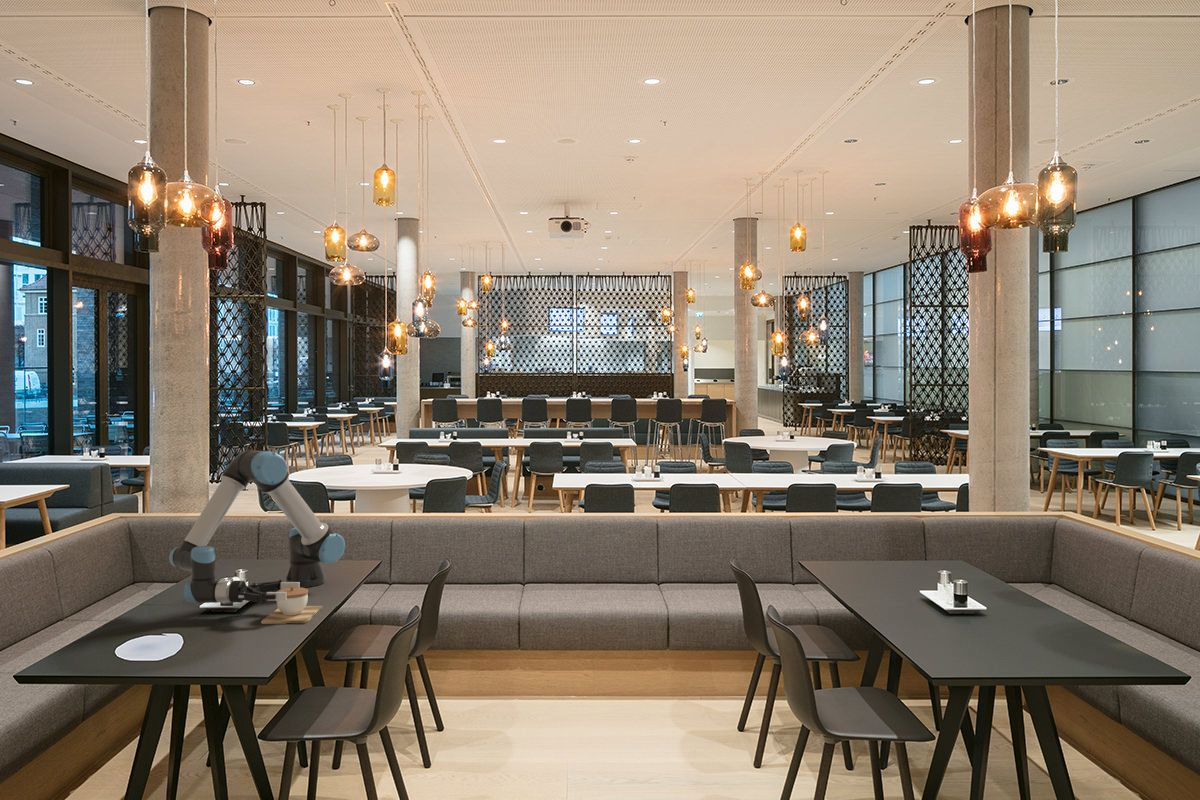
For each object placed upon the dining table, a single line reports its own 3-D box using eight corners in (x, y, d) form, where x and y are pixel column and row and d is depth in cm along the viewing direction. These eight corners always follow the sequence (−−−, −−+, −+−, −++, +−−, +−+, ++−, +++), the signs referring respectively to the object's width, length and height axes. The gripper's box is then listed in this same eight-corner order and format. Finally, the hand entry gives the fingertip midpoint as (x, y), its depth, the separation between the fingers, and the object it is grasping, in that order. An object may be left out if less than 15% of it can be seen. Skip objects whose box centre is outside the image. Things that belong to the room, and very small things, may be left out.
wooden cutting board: (280, 608, 314) (280, 606, 314) (322, 608, 314) (322, 605, 314) (261, 623, 296) (261, 620, 296) (305, 623, 296) (305, 620, 296)
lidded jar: (298, 618, 299) (297, 591, 298) (269, 616, 301) (269, 589, 301) (314, 609, 309) (313, 583, 309) (286, 608, 311) (286, 582, 311)
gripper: (246, 592, 317) (304, 592, 317) (216, 612, 292) (280, 611, 292) (245, 572, 317) (304, 571, 317) (216, 590, 292) (280, 589, 292)
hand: (292, 591), depth 305 cm, fingers open, 13 cm apart
